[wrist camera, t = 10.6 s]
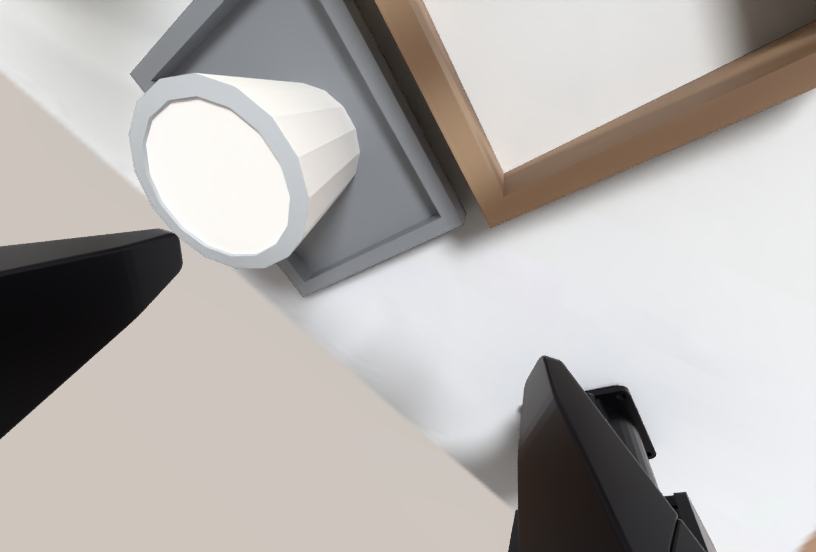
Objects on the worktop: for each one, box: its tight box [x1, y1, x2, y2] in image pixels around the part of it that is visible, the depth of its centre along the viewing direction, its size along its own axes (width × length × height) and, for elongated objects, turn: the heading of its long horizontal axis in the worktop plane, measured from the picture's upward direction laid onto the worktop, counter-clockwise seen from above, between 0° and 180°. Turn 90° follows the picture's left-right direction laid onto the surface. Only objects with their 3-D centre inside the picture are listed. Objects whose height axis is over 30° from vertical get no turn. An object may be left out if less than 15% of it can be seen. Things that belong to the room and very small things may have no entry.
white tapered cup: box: [129, 73, 360, 268], centre depth 16 cm, size 7×7×7 cm
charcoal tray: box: [130, 0, 466, 297], centre depth 18 cm, size 14×11×2 cm
